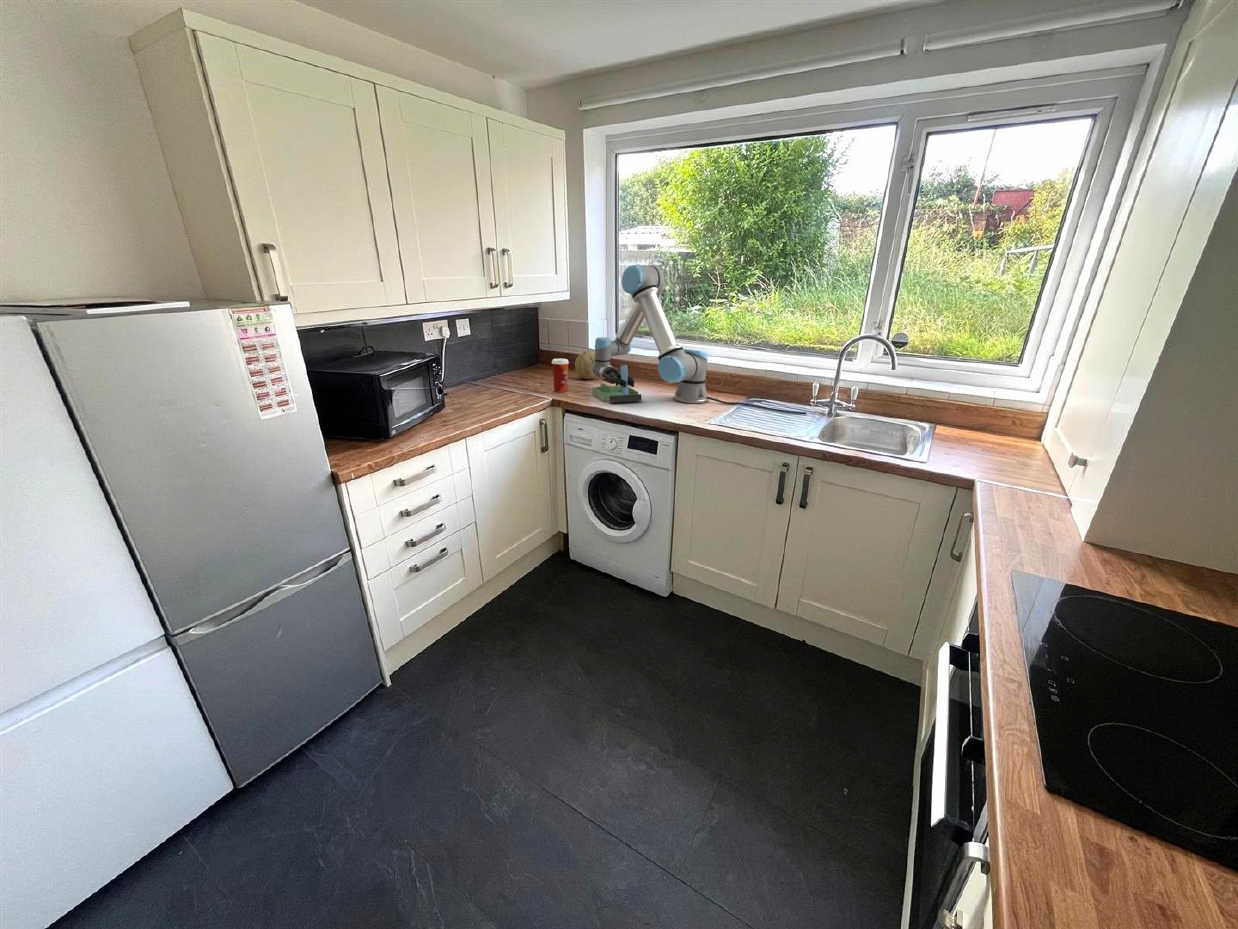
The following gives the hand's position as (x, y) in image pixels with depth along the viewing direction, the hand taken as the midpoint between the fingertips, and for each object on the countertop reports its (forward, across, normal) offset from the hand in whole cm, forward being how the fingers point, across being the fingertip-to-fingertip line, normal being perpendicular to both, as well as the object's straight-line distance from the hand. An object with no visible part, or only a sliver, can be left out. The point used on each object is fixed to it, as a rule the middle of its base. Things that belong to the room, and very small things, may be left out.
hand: (629, 384), depth 218 cm
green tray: (-20, 0, -9) cm, 22 cm away
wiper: (-3, 0, -9) cm, 9 cm away
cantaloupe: (-56, -1, -9) cm, 56 cm away
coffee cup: (-33, +22, -9) cm, 40 cm away
